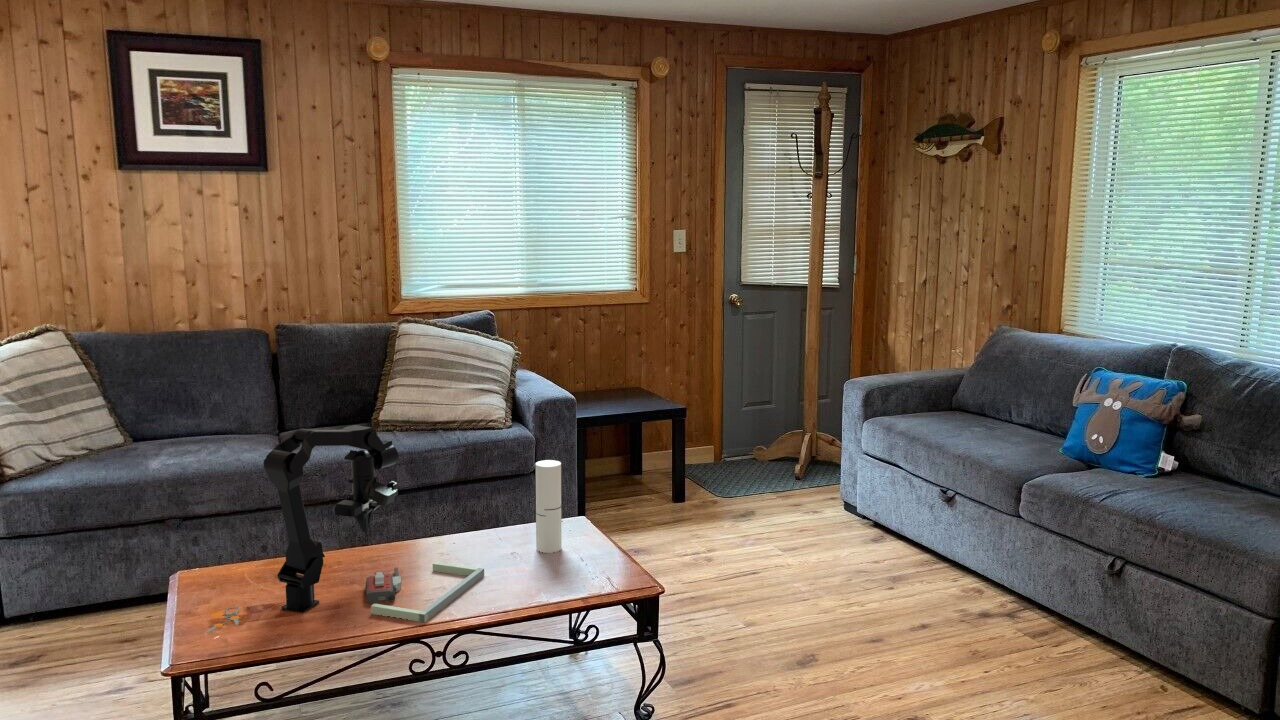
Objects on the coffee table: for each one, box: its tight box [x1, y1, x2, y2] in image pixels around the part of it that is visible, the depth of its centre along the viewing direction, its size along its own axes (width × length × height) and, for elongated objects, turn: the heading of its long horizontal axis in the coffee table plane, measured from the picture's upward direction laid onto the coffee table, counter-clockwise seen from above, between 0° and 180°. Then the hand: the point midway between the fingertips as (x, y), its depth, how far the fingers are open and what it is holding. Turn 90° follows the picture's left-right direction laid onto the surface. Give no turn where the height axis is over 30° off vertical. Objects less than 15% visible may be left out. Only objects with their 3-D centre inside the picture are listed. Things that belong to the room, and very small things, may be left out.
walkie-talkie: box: [365, 566, 403, 604], centre depth 244 cm, size 9×4×20 cm
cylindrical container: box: [535, 459, 562, 554], centre depth 270 cm, size 7×7×25 cm
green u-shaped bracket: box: [370, 561, 485, 624], centre depth 240 cm, size 30×14×2 cm, turn 162°
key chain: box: [205, 606, 241, 633], centre depth 225 cm, size 13×7×1 cm, turn 15°
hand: (365, 531), depth 250 cm, fingers closed
